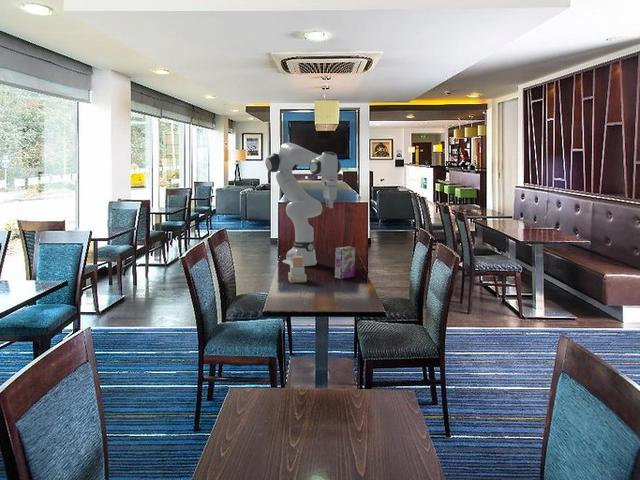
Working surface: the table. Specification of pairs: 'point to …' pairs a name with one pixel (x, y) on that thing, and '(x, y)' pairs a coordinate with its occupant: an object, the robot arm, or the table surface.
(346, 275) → the candy bar box
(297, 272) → the tower top
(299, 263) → the terracotta cube
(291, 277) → the tower base
